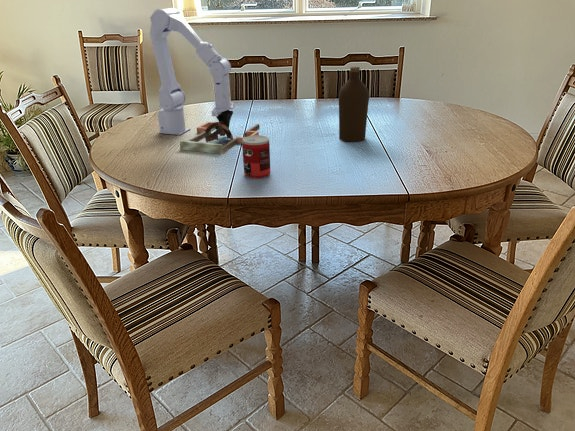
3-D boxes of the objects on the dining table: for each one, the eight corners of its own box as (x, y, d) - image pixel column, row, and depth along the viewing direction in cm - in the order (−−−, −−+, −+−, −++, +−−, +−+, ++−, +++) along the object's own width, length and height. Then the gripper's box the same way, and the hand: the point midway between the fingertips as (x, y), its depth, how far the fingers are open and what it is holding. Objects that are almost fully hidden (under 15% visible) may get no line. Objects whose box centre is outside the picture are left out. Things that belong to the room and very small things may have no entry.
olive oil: (345, 144, 170) (347, 71, 159) (332, 136, 179) (334, 66, 168) (372, 140, 173) (376, 68, 162) (358, 132, 182) (361, 63, 171)
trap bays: (187, 138, 180) (187, 132, 179) (208, 126, 193) (207, 121, 193) (248, 144, 172) (248, 138, 171) (266, 131, 185) (265, 126, 185)
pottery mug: (235, 147, 171) (222, 130, 166) (212, 157, 174) (199, 141, 168) (236, 127, 180) (224, 111, 174) (215, 138, 182) (202, 122, 177)
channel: (180, 149, 168) (179, 141, 167) (222, 124, 195) (222, 117, 194) (221, 153, 163) (220, 145, 162) (259, 127, 190) (259, 120, 189)
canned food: (243, 170, 149) (241, 135, 144) (269, 169, 149) (268, 134, 144) (244, 179, 142) (241, 143, 137) (271, 178, 142) (269, 142, 138)
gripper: (223, 99, 167) (226, 137, 173) (241, 90, 179) (243, 126, 185) (205, 98, 170) (208, 135, 176) (223, 89, 182) (226, 125, 188)
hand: (225, 130), depth 181 cm, fingers closed
